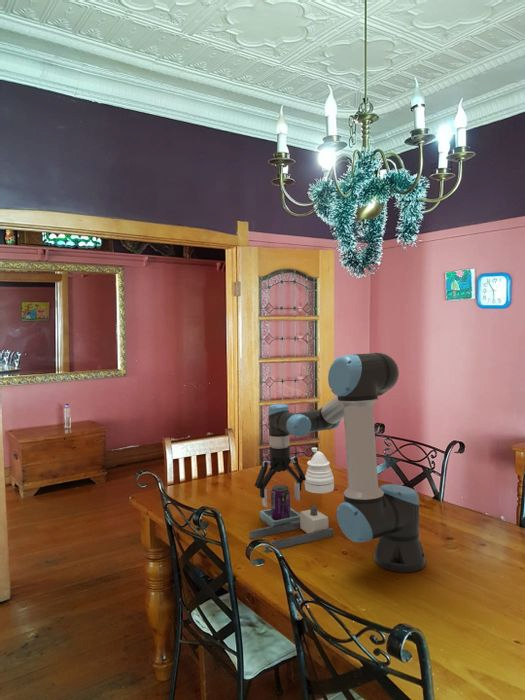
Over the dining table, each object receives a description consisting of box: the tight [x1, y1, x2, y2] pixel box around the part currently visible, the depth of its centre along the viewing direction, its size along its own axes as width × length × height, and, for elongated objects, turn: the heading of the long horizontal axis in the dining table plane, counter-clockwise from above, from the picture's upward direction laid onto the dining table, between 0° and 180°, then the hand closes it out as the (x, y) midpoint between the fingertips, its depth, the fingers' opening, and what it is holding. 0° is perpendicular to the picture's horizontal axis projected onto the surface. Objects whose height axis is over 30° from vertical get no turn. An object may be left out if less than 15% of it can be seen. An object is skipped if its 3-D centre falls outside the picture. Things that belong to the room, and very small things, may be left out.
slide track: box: [249, 520, 334, 553], centre depth 177 cm, size 12×26×2 cm, turn 115°
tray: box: [259, 507, 300, 527], centre depth 191 cm, size 12×12×3 cm
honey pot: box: [304, 447, 335, 494], centre depth 227 cm, size 13×13×18 cm
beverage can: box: [270, 484, 291, 520], centre depth 191 cm, size 7×7×12 cm
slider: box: [299, 504, 329, 534], centre depth 181 cm, size 9×6×9 cm, turn 25°
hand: (281, 502), depth 190 cm, fingers open, 13 cm apart
